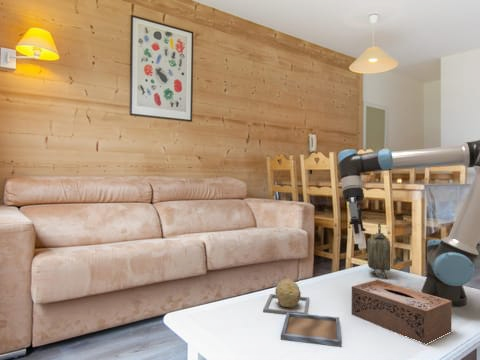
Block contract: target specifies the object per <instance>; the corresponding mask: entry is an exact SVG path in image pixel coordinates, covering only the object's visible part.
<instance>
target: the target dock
mask: <svg viewBox="0 0 480 360" xmlns="http://www.w3.org/2000/svg"><path fill="white" fill-rule="evenodd" d="M280 340H282V341H283V340H284V341H293V342H300V343H307V344H315V345H316V344H317V345H325V346H326V345H327V346H333V347H340V348H341V347H342V336H341V325H340V317H339V316H337V317H336V316H327V315H317V314H308V313H307V314H299V313H289V312H287V315H286V314H285V318H284V322H283V325H282V329H281V333H280Z"/></svg>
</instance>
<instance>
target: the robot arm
mask: <svg viewBox="0 0 480 360" xmlns="http://www.w3.org/2000/svg"><path fill="white" fill-rule="evenodd" d="M337 160H338V164H337V165H338V171H339V177H340V183H339V186H341V190H342V198H343V201H344V202H346V203H349V204H348V208H349V213H350V214H349V216H350V221H349V225H351V228H352V229H351V230H352V234H353V237H352V238H353V242H354V243H353V244H354V245H358V246H357V247H358V249H359V250H360V249H361V250H362V249H363V250H364V249H367V243H366V237H365V232H366V231H367V230H366V228H364V225H363V219H362V206H361V203H360V202H359V201H362V200H364V199H365V193H364V189H363V188H364V186H363V180H362V174H366V173H374V172H378V173H379V172H388V171H399V170H402V171H403V170H414V169H427V168H428V169H429V168H441V167H455V166H463V167H465V168H467V169H468V168H473V169H474V171H475V175H474V177H473V179H472V182H471V184H470V186H469V188H468V191H467V194H466V195H465V197H464V199H463V202H462V205H461V207H460V209H459V211H458V214H457V216H456V218H455V220H454V223H453V225H452V228H451V229H450V232H449V234H448V236H446V237H443V238H441V239H429V240H427V245H426V252H427V253H426V278H425V281H424V284H423V286H422V289H421V292H422V293H426V294H429V295H433V296H436V297H440V298H443V299H447V300H450V301H452V307H462V306H466V305H467V303H468V301H467V299H468V298H467V294H466V291H465V288H464V285H466V284H468V283H470V282H471V281H472V279H473V277H474V275H475V263H476V260H477V258H478V257H479V254H480V253H479V251H478V249H477V245H478V243H479V241H480V139H478V140H474V141H473V140H472V141H465V142H463V143H462V144H461V145H451V146H441V147H440V146H439V147H428V148H419V149H418V148H417V149H416V148H415V149H408V150H407V149H406V150H397V151H396V150H395V151H391V149H389V148H386V149H380V150H375V151H370V152H365V153H358V152H357V150H355V149H353V148H352V149H349V148H348V149H344V150H342V151H340V152H339V153H338V155H337Z"/></svg>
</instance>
